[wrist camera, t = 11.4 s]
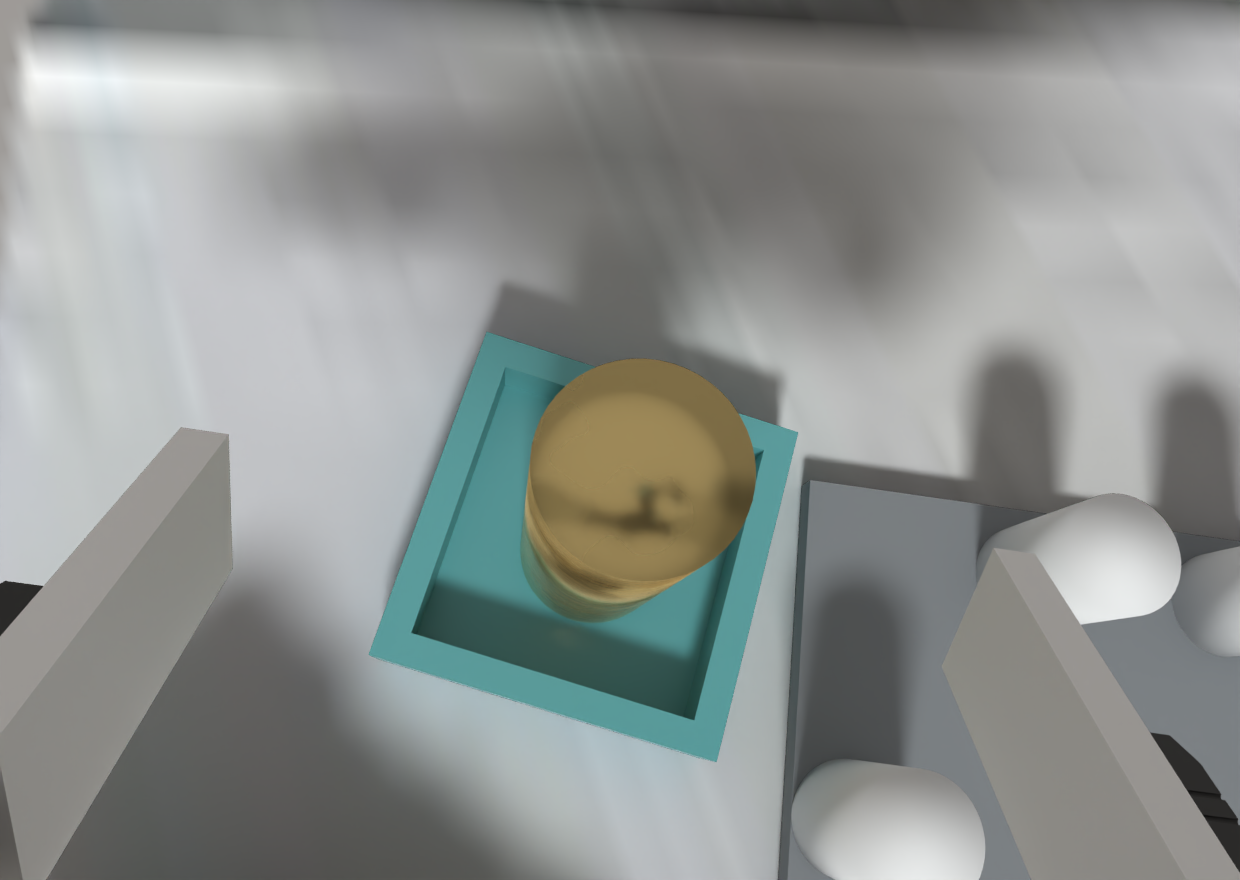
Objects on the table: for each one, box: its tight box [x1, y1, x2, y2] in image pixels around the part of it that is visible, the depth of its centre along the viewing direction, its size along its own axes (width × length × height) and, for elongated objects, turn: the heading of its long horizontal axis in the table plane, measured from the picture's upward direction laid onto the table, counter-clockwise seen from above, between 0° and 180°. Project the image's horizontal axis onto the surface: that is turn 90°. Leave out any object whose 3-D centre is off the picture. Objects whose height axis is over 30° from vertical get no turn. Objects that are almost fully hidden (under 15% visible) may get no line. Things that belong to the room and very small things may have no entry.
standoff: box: [520, 359, 756, 623], centre depth 22 cm, size 4×4×10 cm
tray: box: [369, 332, 798, 762], centre depth 26 cm, size 9×9×2 cm
